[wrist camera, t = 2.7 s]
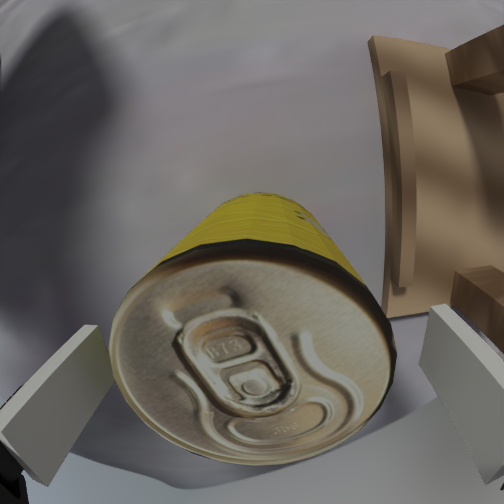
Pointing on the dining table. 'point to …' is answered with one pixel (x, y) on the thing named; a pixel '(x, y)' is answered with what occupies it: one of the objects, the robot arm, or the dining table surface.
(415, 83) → the knobbed wooden cradle
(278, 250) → the beverage can
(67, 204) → the dining table surface
